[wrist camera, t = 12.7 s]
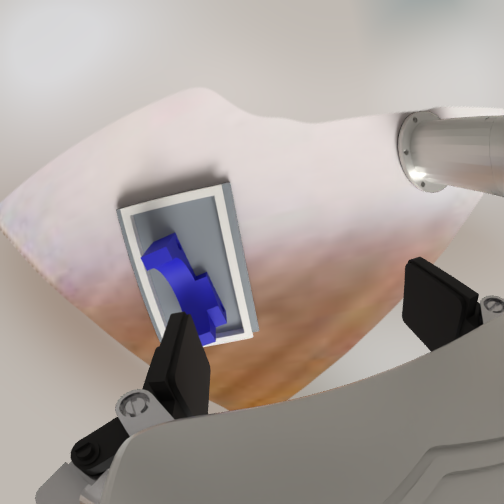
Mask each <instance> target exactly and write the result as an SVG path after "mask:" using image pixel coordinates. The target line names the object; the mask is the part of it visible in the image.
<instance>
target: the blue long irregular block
mask: <svg viewBox="0 0 504 504" xmlns="http://www.w3.org/2000/svg"><path fill="white" fill-rule="evenodd" d="M141 260H142V262H143V264H144V266H145V268H146V270H147V271H148V270H151V269H153V268H155V269H157V270H158V271H159V272H161V273H162V275H163V276H164V277H165V278H166V280H167V281H168V282H169V284H170V286H171V287H172V289H173V291H174V293H175V295H176V297H177V300H178V302H179V305H180V307H181V310H182V312H184V311H185V312H186V314H191V316H192V319H193V322H194V324H195V327H196V330H197V333H198V335H199V338H200V341H201V343H202V346H205V345H208V344H211V343H213V342H216V327H218V326H221V325H224V324H226V323H227V317H226V310H225V308H224V306H223V304H222V302H221V300H220V298H219V296H218V294H217V292H216V290H215V288H214V286H213V283H212V281H211V279H210V277H209V275H208V273H207V272H205V273H203V274H200V275H198V276H196V275H195V273H194V271H193V269H192V267H191V265H190V263H189V261H188V259H187V257H186V255H185V252H184V250H183V248H182V246H181V244H180V242H179V240H178V237H177V235H176V233H172V234H170V235H168V236H166V237H163V238H161V239H159V240H157V241H154V242H153V243H152V244H151V245H150V247H149V248H148V249H147V250H146V251H145V253H144V254H143V255H142V256H141Z"/></svg>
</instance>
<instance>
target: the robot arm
mask: <svg viewBox="0 0 504 504" xmlns="http://www.w3.org/2000/svg"><path fill="white" fill-rule="evenodd" d="M398 150H399V157H400V162H401V165H402V167H403V170H404V172H405V174H406V176H407V178H408V179H409V180H410V182H411V183H412V184H413V185H414V186H415V187H416V188H418V189H420V190H421V191H425V192H430V193H436V192H439V191H441V190H443V189H444V188H445V187H446V186H447V185H448V186H454V187H459V188H464V189H469V190H474V191H479V192H483V193H488V194H492V195H497V196H501V197H504V115H501V116H478V117H462V118H450V119H440V118H439V117H438V116H437V115H435V114H433V113H431V112H427V111H420V112H415V113H413V114H411V115H409V116H408V117H407V118H406V119H405V121H404V123H403V124H402V127H401V129H400V133H399V139H398ZM478 296H479V294H478V293H476V292H475V291H473V290H472V289H470V288H469V287H467V286H466V285H464V284H463V283H461V282H460V281H458V280H457V279H455V278H454V277H452V276H451V275H449V274H448V273H446V272H444V271H443V270H441V269H440V268H438V267H436V266H434V265H433V264H432V263H430V262H428V261H427V260H425V259H423V258H422V257H418V258H414V259H411V260H409V261H408V264H406V266H405V285H404V299H403V311H402V318H403V321H404V323H406V325H407V326H408V327H409V328H410V329H411V330H412V331H413V332H414V333H415V334H416V335H417V337H418V338H419V339H420V340H421V341H422V342H423V343H424V344H425V345H426V346H427V347H428V349H429V350H430V351H431V352H430V353H427V354H425V355H423V356H421V357H419V358H416V359H414V360H412V361H409V362H407V363H404V364H402V365H400V366H397V367H395V368H392V369H390V370H387V371H384V372H382V373H379V374H376V375H374V376H371V377H368V378H365V379H362V380H359V381H356V382H353V383H350V384H347V385H344V386H341V387H337V388H334V389H330V390H327V391H323V392H320V393H316V394H312V395H309V396H305V397H300V398H297V399H292V400H288V401H283V402H278V403H274V404H269V405H263V406H258V407H252V408H246V409H240V410H233V411H227V412H221V413H214V414H208V402H209V386H210V365H209V362H208V359H207V357H206V354H205V351H204V349H203V346H202V343H201V341H200V338H199V335H198V333H197V330H196V327H195V324H194V322H193V319H192V316H191V314H186V312H185V311H184V312H178V313H172V314H171V315H170V318H169V320H168V323H167V326H166V329H165V332H164V335H163V338H162V341H161V344H160V347H157V348H156V350H155V353H154V356H153V358H152V361H151V364H150V368H149V370H148V373H147V376H146V380H145V383H144V386H143V389H137V390H132V391H130V392H127V393H126V394H124V395H123V396H122V397H121V398H120V399H119V400H118V402H117V404H116V407H115V411H116V414H117V416H118V417H116V418H115V419H113V420H112V421H110V422H108V423H107V424H105V425H104V426H102V427H101V428H99V429H97V430H96V431H94V432H92V433H91V434H89V435H88V436H86V437H84V438H83V439H81V440H79V441H78V442H77V443H76V444H75V445H74V447H73V448H72V451H71V460H72V461H71V462H70V463H69V464H68V463H66V462H65V463H64V464H63V465H62V466H61V467H60V468H59V469H58V470H57V471H56V472H55V473H54V474H53V475H52V476H51V477H50V478H49V479H48V480H47V481H46V482H45V483H44V484H43V485H42V486H41V487H40V488H39V490H38V491H37V493H36V497H35V499H36V504H504V299H502V298H500V297H498V296H486V297H484V298H483V299H482V300H481V301H480V304H479V303H478V302H477V300H478Z"/></svg>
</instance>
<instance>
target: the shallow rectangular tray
mask: <svg viewBox="0 0 504 504" xmlns="http://www.w3.org/2000/svg"><path fill="white" fill-rule="evenodd" d="M116 211H117V215H118V219H119V223H120V226H121V230H122V234H123V237H124V241H125V244H126V248H127V251H128V255H129V258H130V261H131V264H132V267H133V271H134V274H135V277H136V280H137V283H138V286H139V288H140V291H141V294H142V297H143V300H144V303H145V305H146V308H147V311H148V313H149V316H150V318H151V321H152V324H153V326H154V329H155V331H156V334H157V336H158V338H159V341H160V343H161V341H162V338H163V335H164V332H165V329H166V326H167V323H168V320H169V318H170V315H171V314H172V313H178V312H182V310H181V307H180V305H179V302H178V300H177V297H176V295H175V293H174V291H173V289H172V287H171V286H170V284H169V282H168V281H167V280H166V278H165V277H164V276H163V275H162V273H161V272H159V271H158V270H157V269H155V268H153V269H151V270H148V271H147V270H146V268H145V266H144V264H143V262H142V260H141V256H142V255H143V254H144V253H145V251H146V250H147V249H148V248H149V247H150V245H151V244H152V243H153V242H154V241H157V240H159V239H161V238H163V237H166V236H168V235H170V234H172V233H176V235H177V237H178V240H179V242H180V244H181V246H182V248H183V250H184V252H185V255H186V257H187V259H188V261H189V263H190V265H191V267H192V269H193V271H194V273H195V275H196V276H198V275H200V274H203V273H205V272H207V273H208V275H209V277H210V279H211V281H212V283H213V286H214V288H215V290H216V292H217V294H218V296H219V298H220V300H221V302H222V304H223V306H224V308H225V310H226V317H227V323H226V324H224V325H221V326H218V327H216V342H213V343H211V344H208V345H205V346H203V347H206V346H212V345H217V344H223V343H228V342H233V341H238V340H243V339H248V338H253V334H252V332H257V331H259V327H258V322H257V317H256V312H255V307H254V302H253V297H252V292H251V287H250V282H249V277H248V272H247V267H246V262H245V257H244V252H243V247H242V242H241V236H240V231H239V226H238V221H237V216H236V211H235V206H234V200H233V195H232V190H231V185H230V182H227V183H222V184H218V185H213V186H208V187H203V188H199V189H194V190H190V191H186V192H181V193H177V194H173V195H169V196H165V197H161V198H157V199H153V200H149V201H145V202H141V203H138V204H134V205H130V206H127V207H123V208H120V209H117V210H116Z"/></svg>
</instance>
